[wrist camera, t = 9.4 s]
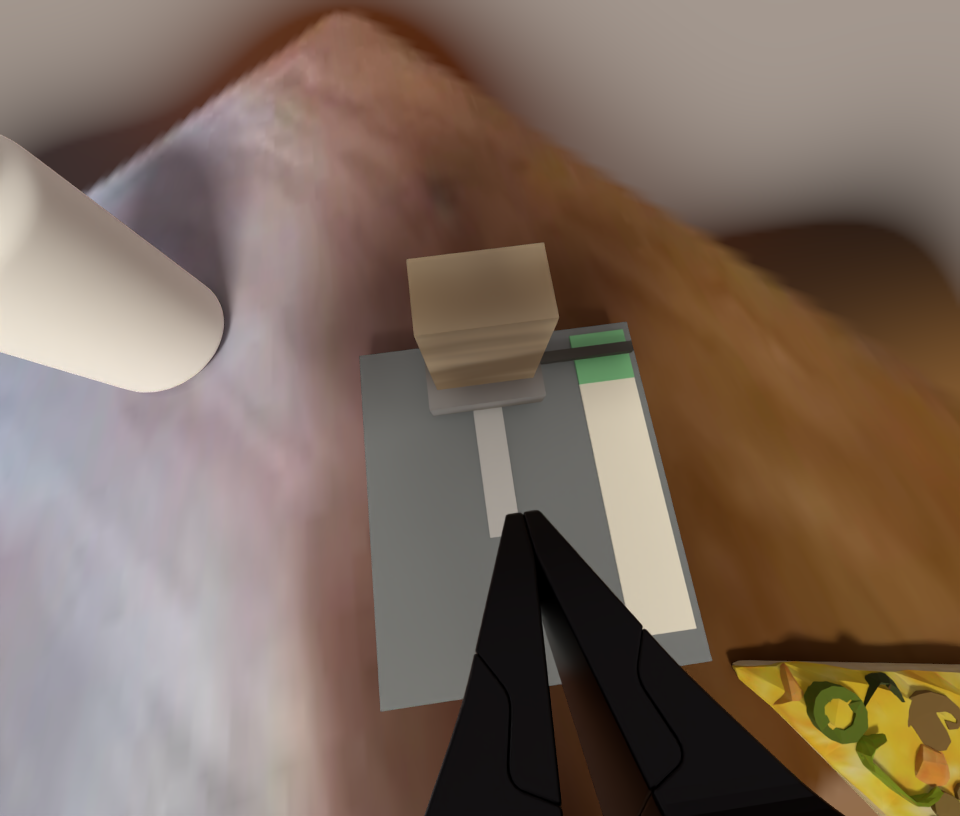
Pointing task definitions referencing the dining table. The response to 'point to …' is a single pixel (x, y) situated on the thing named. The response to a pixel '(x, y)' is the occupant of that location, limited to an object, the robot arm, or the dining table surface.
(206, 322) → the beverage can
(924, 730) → the pizza slice
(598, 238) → the dining table surface
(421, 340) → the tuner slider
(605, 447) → the board
